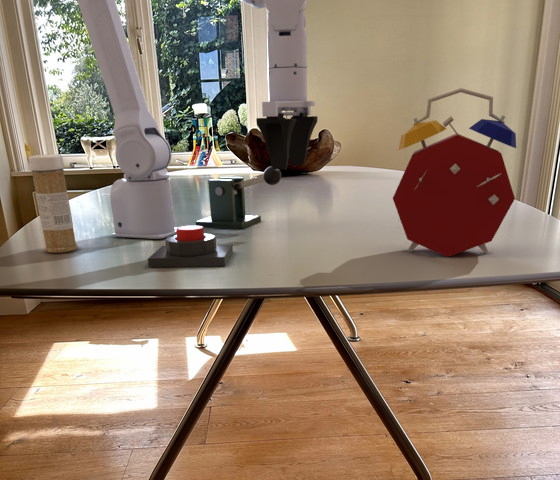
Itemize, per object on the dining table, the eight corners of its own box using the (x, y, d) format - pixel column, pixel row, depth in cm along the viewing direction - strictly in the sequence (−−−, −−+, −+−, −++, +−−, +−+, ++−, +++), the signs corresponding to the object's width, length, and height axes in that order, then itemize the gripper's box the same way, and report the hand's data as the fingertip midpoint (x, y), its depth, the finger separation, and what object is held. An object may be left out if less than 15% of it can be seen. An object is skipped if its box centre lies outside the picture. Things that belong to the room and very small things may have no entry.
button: (174, 243, 78) (173, 230, 77) (180, 238, 81) (179, 225, 81) (201, 243, 78) (200, 229, 77) (206, 238, 81) (205, 224, 80)
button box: (148, 267, 77) (145, 244, 76) (162, 254, 85) (160, 232, 83) (225, 266, 77) (223, 243, 75) (232, 253, 84) (231, 231, 83)
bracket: (261, 221, 108) (259, 176, 105) (242, 229, 101) (239, 181, 98) (216, 219, 111) (213, 176, 108) (195, 227, 104) (191, 180, 101)
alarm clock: (503, 248, 81) (522, 86, 73) (509, 263, 74) (532, 84, 66) (393, 246, 85) (400, 91, 77) (388, 259, 77) (396, 89, 69)
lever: (285, 181, 101) (281, 163, 100) (279, 183, 98) (274, 164, 97) (226, 198, 106) (221, 181, 105) (218, 201, 104) (213, 183, 103)
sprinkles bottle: (75, 246, 92) (59, 153, 86) (79, 251, 88) (64, 154, 83) (43, 249, 90) (26, 155, 85) (47, 255, 86) (28, 156, 81)
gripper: (294, 64, 79) (296, 171, 85) (329, 69, 92) (328, 163, 97) (246, 67, 82) (251, 171, 87) (286, 72, 94) (288, 163, 100)
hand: (289, 167), depth 92 cm, fingers open, 7 cm apart
